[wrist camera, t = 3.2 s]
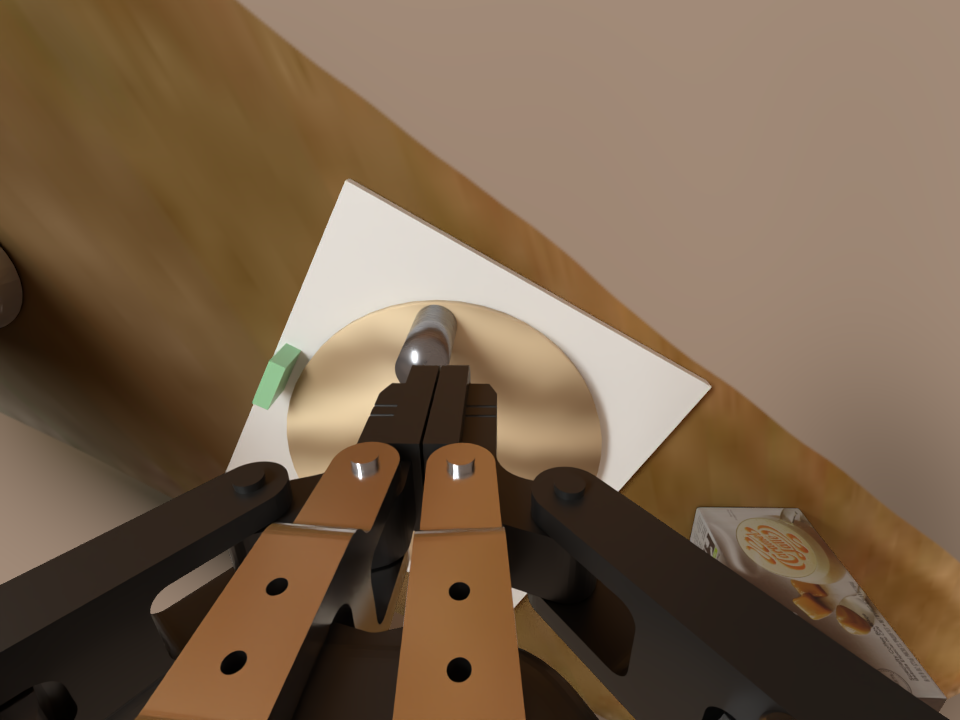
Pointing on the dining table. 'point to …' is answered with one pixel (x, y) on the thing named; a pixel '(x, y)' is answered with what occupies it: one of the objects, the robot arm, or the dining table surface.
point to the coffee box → (810, 585)
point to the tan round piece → (441, 341)
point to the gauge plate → (472, 279)
